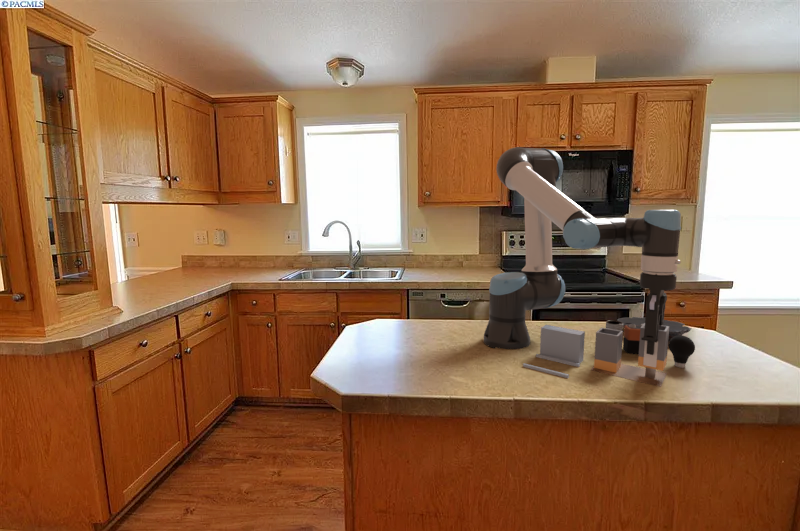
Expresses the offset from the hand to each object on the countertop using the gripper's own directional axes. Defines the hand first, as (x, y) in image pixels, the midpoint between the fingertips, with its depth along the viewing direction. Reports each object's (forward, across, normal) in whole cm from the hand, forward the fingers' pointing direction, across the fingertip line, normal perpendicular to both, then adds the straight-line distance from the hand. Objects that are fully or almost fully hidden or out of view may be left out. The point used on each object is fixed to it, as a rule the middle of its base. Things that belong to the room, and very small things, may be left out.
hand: (651, 361), depth 100 cm
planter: (+6, +15, +12) cm, 20 cm away
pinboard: (+6, 0, +5) cm, 8 cm away
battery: (+6, +18, +6) cm, 20 cm away
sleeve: (+1, 0, 0) cm, 1 cm away
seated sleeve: (+4, 0, +10) cm, 11 cm away
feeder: (+5, -6, +22) cm, 24 cm away
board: (+6, +44, +6) cm, 45 cm away
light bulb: (+6, +13, -5) cm, 15 cm away
